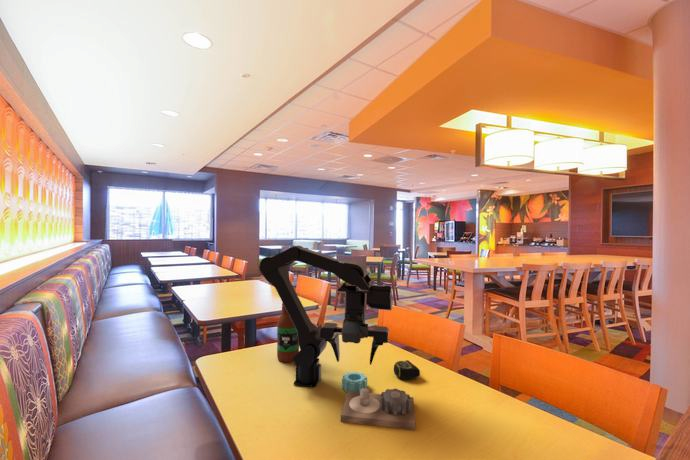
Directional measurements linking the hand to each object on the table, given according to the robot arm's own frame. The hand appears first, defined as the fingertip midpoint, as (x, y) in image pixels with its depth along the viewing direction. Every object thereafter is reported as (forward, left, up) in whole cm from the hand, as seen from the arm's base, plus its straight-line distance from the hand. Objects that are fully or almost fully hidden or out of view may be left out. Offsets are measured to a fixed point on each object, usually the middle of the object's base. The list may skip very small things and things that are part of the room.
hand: (354, 362), depth 90 cm
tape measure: (+15, +10, -7) cm, 19 cm away
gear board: (+8, -11, -7) cm, 15 cm away
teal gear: (0, 0, -7) cm, 7 cm away
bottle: (-25, +15, -7) cm, 30 cm away
